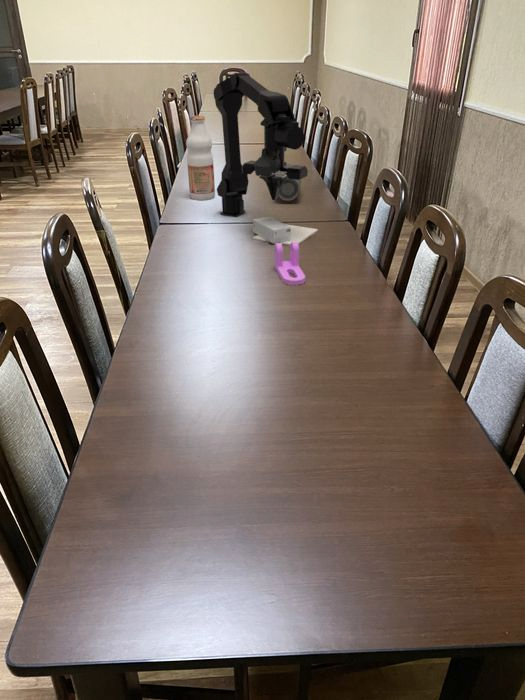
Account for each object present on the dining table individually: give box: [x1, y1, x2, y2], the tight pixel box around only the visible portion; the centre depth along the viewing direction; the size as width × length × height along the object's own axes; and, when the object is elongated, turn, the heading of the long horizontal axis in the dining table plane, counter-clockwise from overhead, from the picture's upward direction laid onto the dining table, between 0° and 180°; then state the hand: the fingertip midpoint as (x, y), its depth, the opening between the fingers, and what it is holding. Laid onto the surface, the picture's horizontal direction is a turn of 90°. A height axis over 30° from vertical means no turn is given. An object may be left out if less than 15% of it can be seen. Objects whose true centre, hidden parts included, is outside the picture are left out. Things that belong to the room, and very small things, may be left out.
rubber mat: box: [252, 223, 319, 246], centre depth 162 cm, size 14×16×1 cm
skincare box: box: [252, 216, 291, 245], centre depth 159 cm, size 6×4×12 cm
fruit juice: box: [185, 115, 216, 201], centre depth 193 cm, size 9×9×28 cm
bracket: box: [273, 242, 306, 286], centre depth 133 cm, size 13×6×7 cm, turn 11°
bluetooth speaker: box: [277, 163, 302, 202], centre depth 199 cm, size 23×9×10 cm, turn 178°
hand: (274, 199), depth 159 cm, fingers closed
